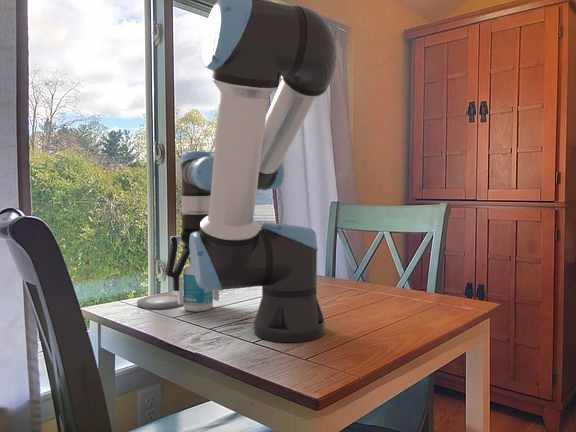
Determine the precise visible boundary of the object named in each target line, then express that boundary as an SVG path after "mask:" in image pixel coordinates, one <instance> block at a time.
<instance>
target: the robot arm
mask: <svg viewBox="0 0 576 432" xmlns="http://www.w3.org/2000/svg"><path fill="white" fill-rule="evenodd" d="M336 46H337V45H336V40H335V38H334V34H333V32H332V30H331V27H330V26H329V25H328V23H327V22H326V21H325V19H324V18H323V17H322V16H321V15H320V14H318V13H317V12H316V11H315V10H312V9H311V8H308V7H305V6H302V5H301V6H300V5H291V4H286V3H280V2H274V1H269V0H217V1H216V2H215V3H214V5H213V7H212V8H211V10H210V13H209V16H208V18H207V22H206V25H205V29H204V35H203V41H202V62H203V66H205V68H206V69H208V70H209V71H211V80H212V83H214V84H215V86H216V87H217V89H218V90H219V94H218V95H219V96H218V104H217V116H216V117H217V118H216V129H215V139H214V151H213V152H214V153H213V156H212V154H211V153H210V151H204V150H203V151H202V150H187V151H183V152H182V154H181V157H180V158H181V162H180V168H181V169H180V171H181V212H183V214H182V215H181V229H182V230H181V233H180V235H175V236H174V235H170V236H169V244H170V247H169V251H168V256H167V261H166V267H165V271H164V273H165V275H166V277H168V278H169V277H170V278H172V289H173V291H175V292H177V293H176V295H177V303H179V304H180V305H182V304H183V277H182V276H181V274H182V272H183V269H184V267H185V266H186V262H187V261H188V258H189V256H190V258H191V263H192V269H193V273H194V276H195V279H196V282H197V284H198V286H199V287H200V288H201V289H203V290H213V301H214V300H215V301H216V302H217V301H220V292H222V291H223V290H231V289H234V290H235V289H242V288H243V289H245V288H255V287H261V288H262V289H261V291H262V293H261V299H260V303H259V305H258V309H257V312H256V315H255V319H254V323H253V324H254V326H253V327H254V328H253V329H254V331H253V332H254V335H255V336H256V337H258V338H260V339H263V340H266V341H271V342H278V343H300V342H301V343H302V342H308V341H313V340H316V339H319V338H320V337H322V336H324V335H325V333H326V328H325V327H326V322H325V318H324V314H323V313H322V312H323V311H322V309H321V306H320V303H319V300H318V296H317V294H318V292H317V287H318V284H317V283H318V281H317V279H318V278H317V276H318V275H317V274H318V270H317V269H318V251H319V250H318V242H317V233H316V232H315V230H314V229H313V228H311V227H306V226H300V225H292V224H286V223H275V222H263V223H262V224H261V226H260V225H259V224H258V222H256V220H255V219H254V216H255V207H256V201H257V191H259V190H261V191H267V190H277V189H278V188H280V187H281V186H282V184H283V181H284V180H283V179H284V175H285V171H284V165H283V161H284V158H285V157H286V155H287V153H288V151H289V149H290V147H291V146H292V143H293V142H294V140H295V138H296V136H297V134H298V132H299V130H300V128H301V127H302V124H303V123H304V120H305V119H306V117H307V115H308V113H309V112H310V109H311V108H312V106H313V105H314V102H315V101H316V98H318V97H320V96H322V95H323V94H325V93H326V91H327V89H328V87H329V85H330V84H331V81H332V80H333V77H334V74H335V70H336V67H337V66H336V65H337V47H336ZM280 78H281V81H280ZM274 92H276V93H275V95H274V97H273V99H272V101H271V104H270V106H269V108H268V103H269V97H270V96H271V95H272V94H273V93H274ZM181 241H182V242H183V243H184V247H183V249H182V252H181V254H180V257H179V259H178V261H177V264H175V262H176V256H177V251H178V245H179V244H180V243H181ZM174 267H175V268H174Z"/></svg>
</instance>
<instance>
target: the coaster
mask: <svg viewBox="0 0 576 432" xmlns="http://www.w3.org/2000/svg"><path fill="white" fill-rule="evenodd" d="M136 306H137V307H138V308H139V309H145V310H167V309H169V310H170V309H174V308H179V307H184V303H183V304H182V305H180V304H179V303H177V294H157V295H151V296H150V295H149V296H146V297H141V298H140V299H138V300H137V301H136Z"/></svg>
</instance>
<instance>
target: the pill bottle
mask: <svg viewBox="0 0 576 432" xmlns="http://www.w3.org/2000/svg"><path fill="white" fill-rule="evenodd" d="M187 261H188V263H189V264H187V265H185V266H184V268H183V270H182V272H183V273H182V275H183V276H182V279H183V303H184V305H183V309H184V310H185V311H188V312H206V311H210V310H211V309H212V308H213V305H214V299H213V290H203V289H201V288H200V287H199V286H198V284H197V282H196V279H195V276H194V273H193V269H192V263H191V258H190V255H189V257H188V259H187Z"/></svg>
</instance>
